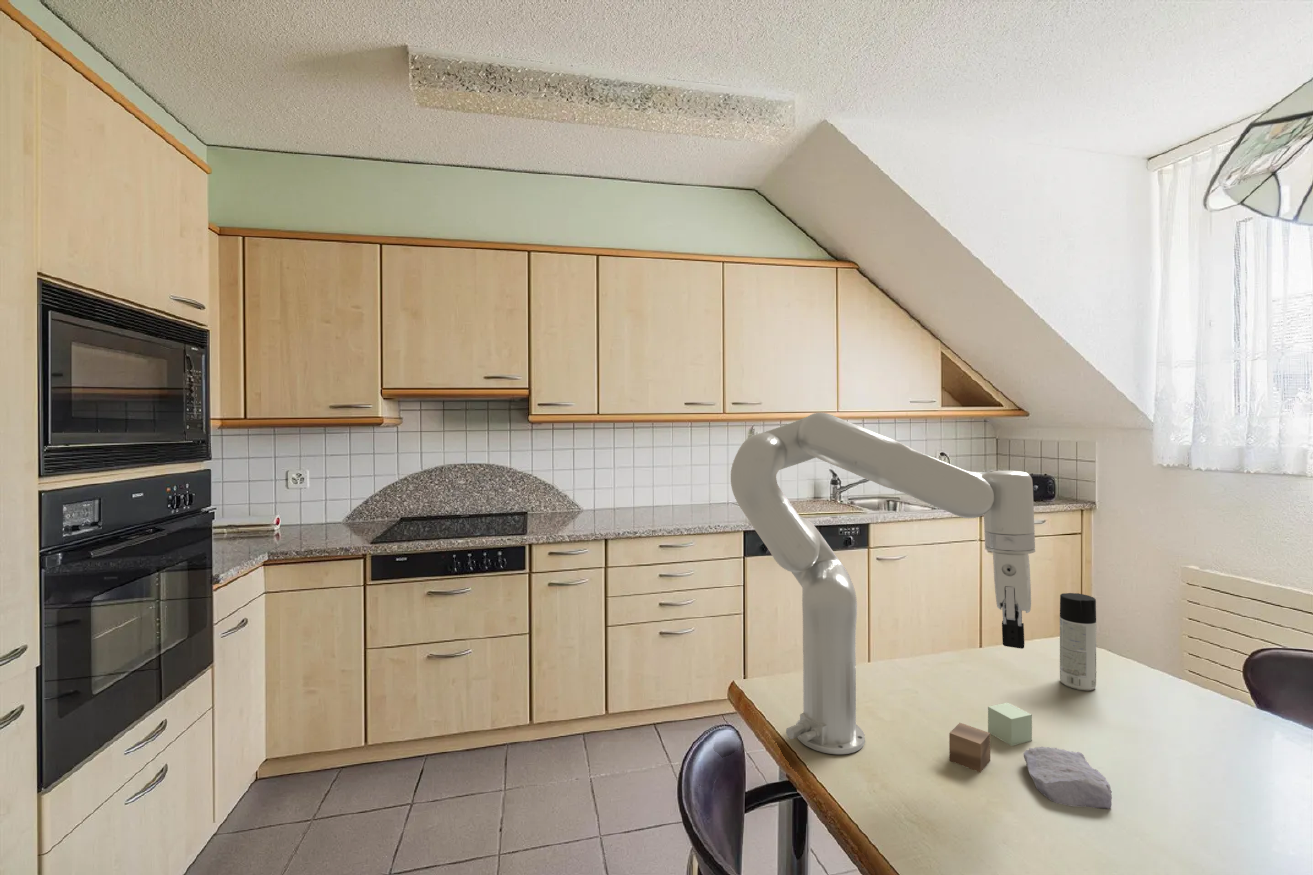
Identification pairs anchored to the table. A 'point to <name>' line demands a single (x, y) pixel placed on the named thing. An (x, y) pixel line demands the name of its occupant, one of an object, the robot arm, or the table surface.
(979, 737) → the walnut block
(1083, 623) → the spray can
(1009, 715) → the sage block
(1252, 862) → the table surface
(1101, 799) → the stone block
